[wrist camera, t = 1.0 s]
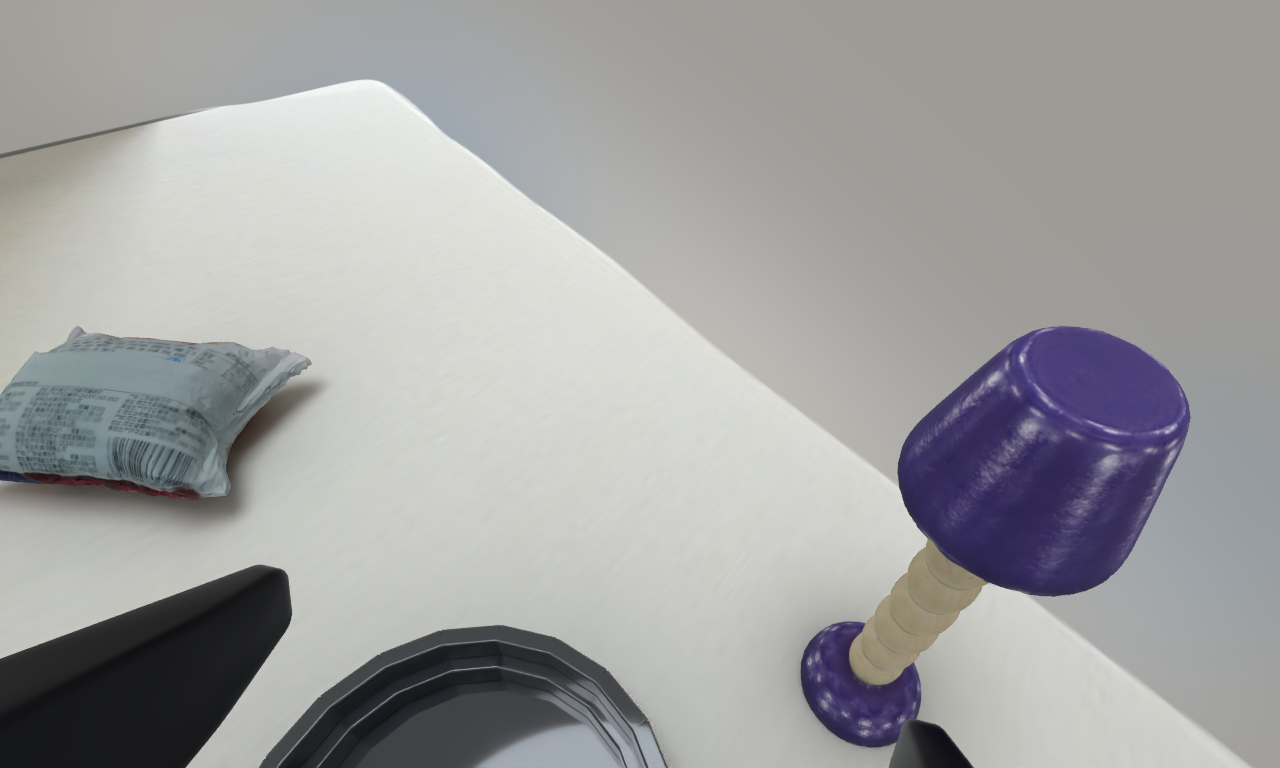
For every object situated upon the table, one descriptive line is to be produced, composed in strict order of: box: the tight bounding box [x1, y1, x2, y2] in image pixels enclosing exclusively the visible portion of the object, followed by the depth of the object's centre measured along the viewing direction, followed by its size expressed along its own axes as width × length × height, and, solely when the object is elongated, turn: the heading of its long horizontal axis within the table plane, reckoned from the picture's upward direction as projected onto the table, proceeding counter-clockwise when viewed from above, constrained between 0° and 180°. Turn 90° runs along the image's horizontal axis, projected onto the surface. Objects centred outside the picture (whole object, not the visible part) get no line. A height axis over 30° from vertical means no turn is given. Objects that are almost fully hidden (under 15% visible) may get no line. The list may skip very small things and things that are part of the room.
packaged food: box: [0, 326, 311, 500], centre depth 29 cm, size 9×12×5 cm
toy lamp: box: [801, 326, 1190, 747], centre depth 17 cm, size 5×5×17 cm
